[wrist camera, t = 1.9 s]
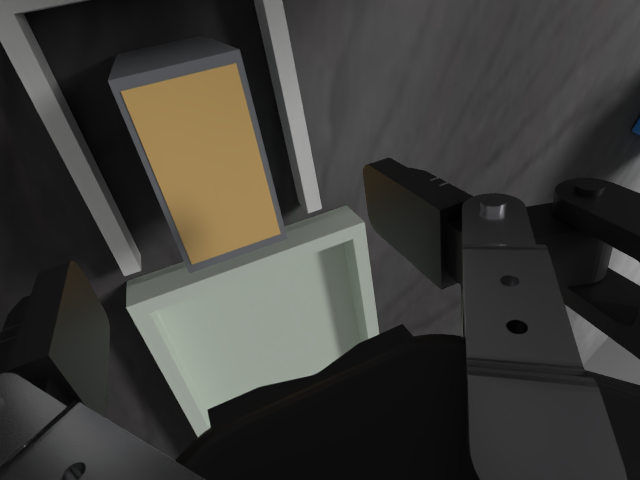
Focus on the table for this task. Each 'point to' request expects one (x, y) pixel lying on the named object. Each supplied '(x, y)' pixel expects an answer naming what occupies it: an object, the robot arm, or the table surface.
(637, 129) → the ink box
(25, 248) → the table surface
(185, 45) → the block
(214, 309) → the tray
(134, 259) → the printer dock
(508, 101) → the table surface
